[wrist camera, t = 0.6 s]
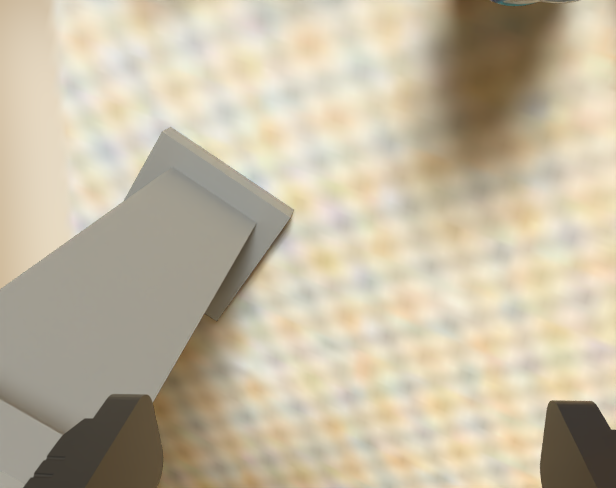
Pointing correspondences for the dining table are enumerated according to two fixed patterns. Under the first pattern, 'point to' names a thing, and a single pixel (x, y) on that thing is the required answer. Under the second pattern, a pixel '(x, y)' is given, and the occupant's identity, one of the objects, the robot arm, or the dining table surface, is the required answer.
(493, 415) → the dining table surface
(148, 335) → the pedestal
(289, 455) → the dining table surface
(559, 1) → the beverage bottle
